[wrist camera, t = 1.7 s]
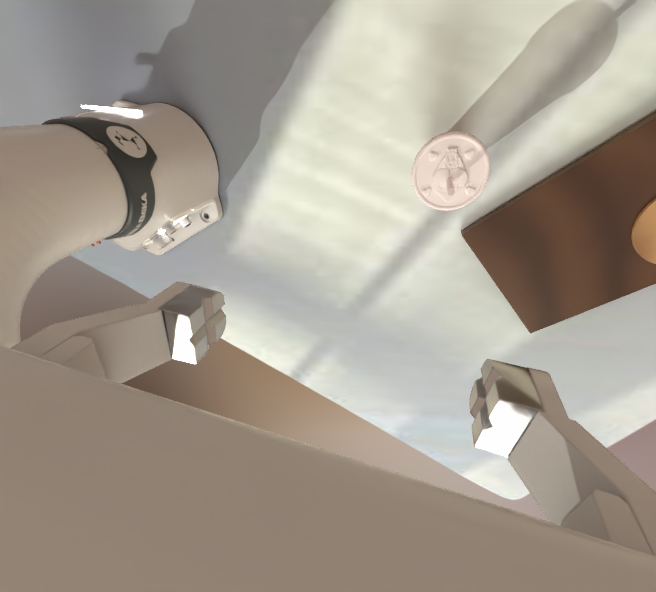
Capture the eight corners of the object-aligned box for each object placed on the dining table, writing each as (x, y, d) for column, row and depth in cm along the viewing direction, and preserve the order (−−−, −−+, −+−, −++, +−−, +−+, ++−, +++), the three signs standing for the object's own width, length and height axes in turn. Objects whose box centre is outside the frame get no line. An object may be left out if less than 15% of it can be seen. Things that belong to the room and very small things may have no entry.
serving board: (527, 326, 43) (531, 335, 42) (460, 230, 40) (461, 236, 38) (761, 231, 32) (778, 237, 30) (698, 85, 28) (714, 84, 27)
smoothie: (414, 189, 39) (406, 226, 27) (417, 127, 35) (409, 139, 24) (474, 187, 37) (492, 226, 25) (482, 122, 34) (507, 133, 22)
